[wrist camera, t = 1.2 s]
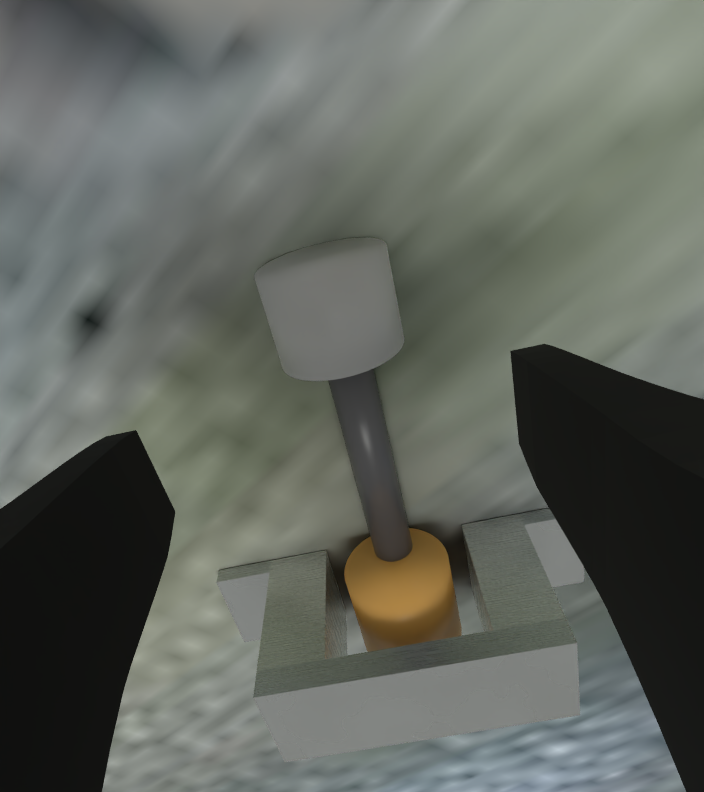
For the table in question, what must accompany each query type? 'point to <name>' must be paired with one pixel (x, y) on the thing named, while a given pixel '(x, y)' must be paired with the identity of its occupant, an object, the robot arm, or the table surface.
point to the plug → (362, 427)
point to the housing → (413, 648)
